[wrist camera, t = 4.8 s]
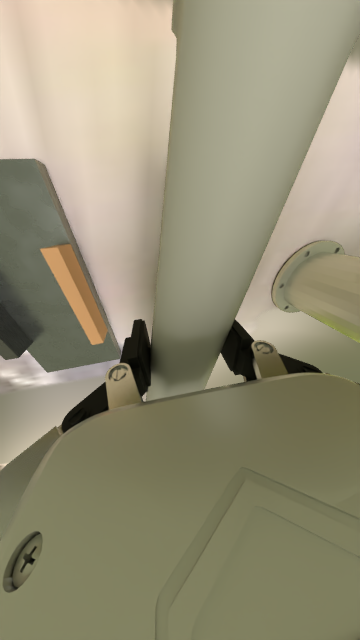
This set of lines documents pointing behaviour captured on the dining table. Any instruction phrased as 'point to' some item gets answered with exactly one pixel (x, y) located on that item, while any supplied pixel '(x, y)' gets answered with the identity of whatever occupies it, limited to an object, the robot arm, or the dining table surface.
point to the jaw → (76, 290)
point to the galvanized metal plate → (39, 275)
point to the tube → (234, 160)
